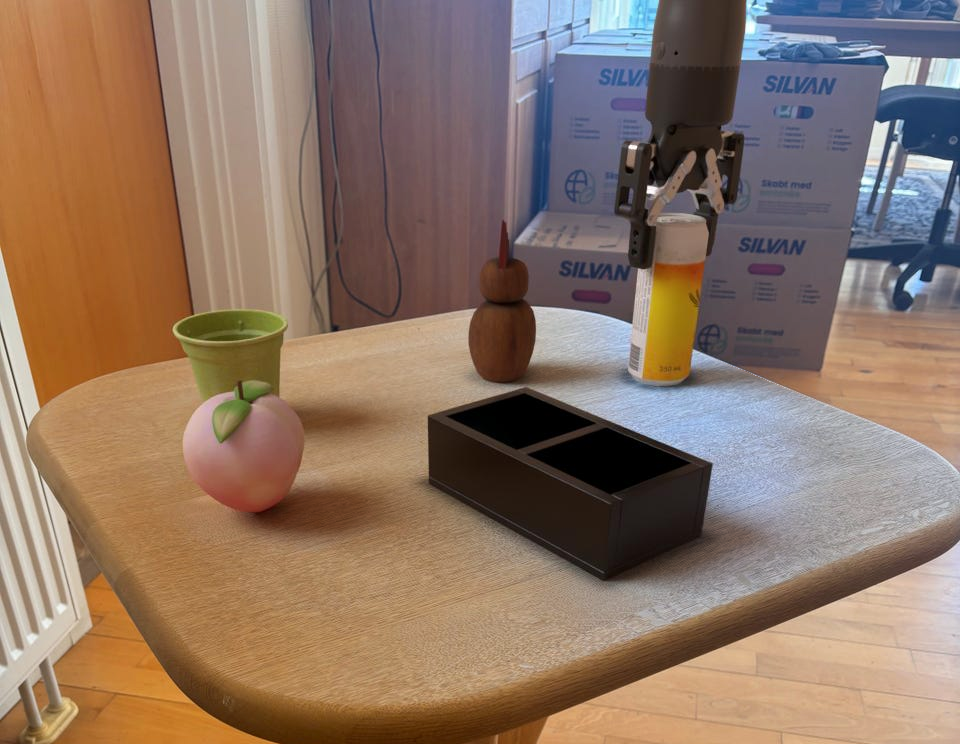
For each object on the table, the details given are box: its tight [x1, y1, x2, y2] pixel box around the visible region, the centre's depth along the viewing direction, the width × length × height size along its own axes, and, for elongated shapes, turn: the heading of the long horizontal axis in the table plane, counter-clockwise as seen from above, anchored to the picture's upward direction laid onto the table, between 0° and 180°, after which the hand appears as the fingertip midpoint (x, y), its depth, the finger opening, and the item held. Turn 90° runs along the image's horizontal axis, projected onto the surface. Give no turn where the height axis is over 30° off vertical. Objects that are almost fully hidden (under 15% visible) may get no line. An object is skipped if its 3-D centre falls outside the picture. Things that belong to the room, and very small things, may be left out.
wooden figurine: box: [467, 219, 537, 383], centre depth 93 cm, size 7×6×15 cm
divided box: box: [427, 386, 714, 582], centre depth 71 cm, size 10×19×6 cm, turn 40°
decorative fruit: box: [182, 380, 306, 513], centre depth 69 cm, size 9×8×10 cm
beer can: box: [627, 212, 709, 387], centre depth 93 cm, size 6×6×15 cm
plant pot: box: [172, 308, 289, 404], centre depth 84 cm, size 9×9×9 cm
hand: (670, 261), depth 91 cm, fingers open, 8 cm apart
